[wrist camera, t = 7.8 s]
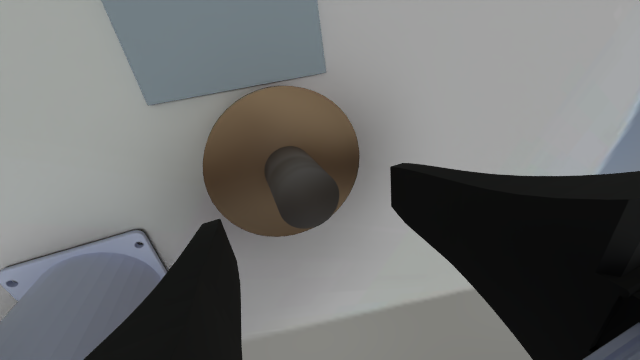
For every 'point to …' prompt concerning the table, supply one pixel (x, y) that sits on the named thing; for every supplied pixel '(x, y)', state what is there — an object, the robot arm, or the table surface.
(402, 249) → the table surface
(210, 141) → the lid
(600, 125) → the table surface
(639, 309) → the robot arm
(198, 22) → the mat
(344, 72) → the table surface
